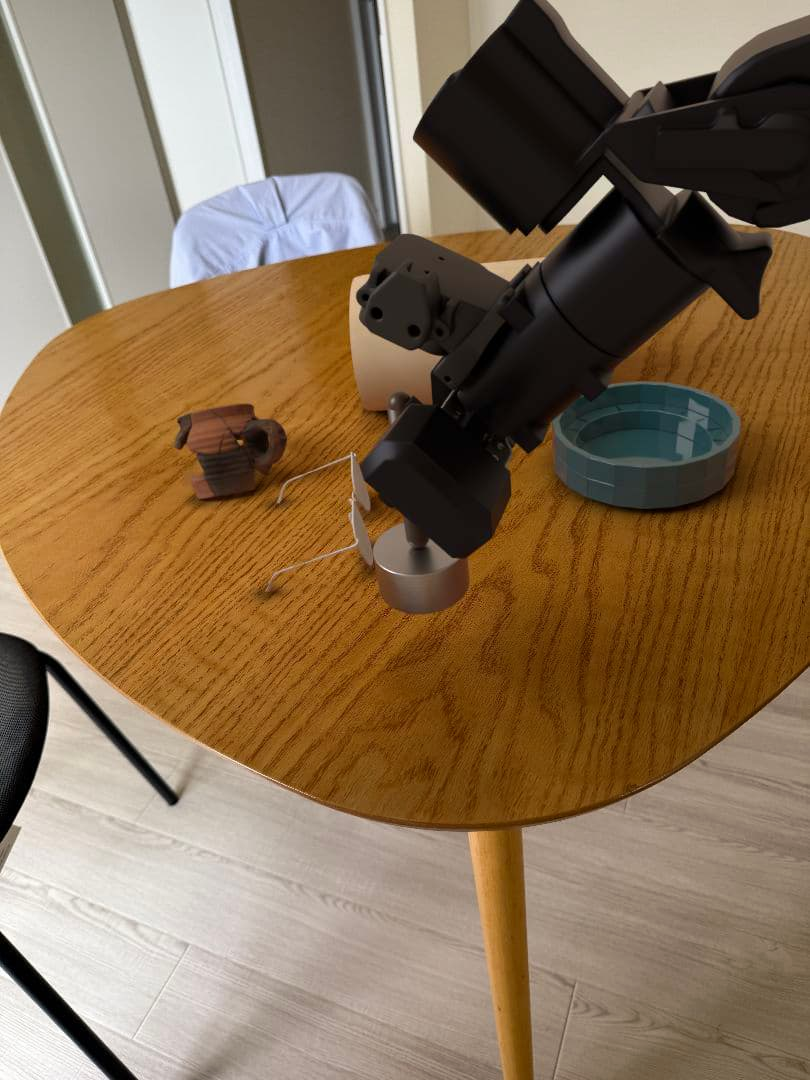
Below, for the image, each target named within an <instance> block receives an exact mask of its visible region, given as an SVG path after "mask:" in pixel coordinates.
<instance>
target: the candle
mask: <svg viewBox="0 0 810 1080" xmlns="http://www.w3.org/2000/svg"><path fill="white" fill-rule="evenodd" d="M546 257H547V256H545V257H534V258H533V257H532V258H524V259H512V260H503V261H492V262H491V261H490V262H482V263H480V262H479V264H481V265H483V266H484V267H485V268H486V269H487V270H489V271H490V272H493V273H494V274H496V275H498V276H500V277H502V278H504V279H505V280H507V281H509V282H510V281H511V280H512V279H513V278H514V277H515V276H516V274H517V273H518V272H519V271H520V270H521V269H522V268H523V267H524V266H525V265H526V264H527V263H528V264H529V265H530V266H531V267H533V266H534V265H535V264H536V262H537V261H539V262H540V263H541V262H542V261H543V260H544V259H545V258H546ZM369 276H370V273H368V274H362V275H358V276H356V277H354V278H353V279H352V282H351V286H350V293H349V308H348V309H349V311H348V312H349V314H348V317H349V318H348V319H349V321H348V322H349V339H350V349H351V350H350V351H351V359H352V364H353V366H352V367H353V372H354V377H355V382H356V387H357V389H358V390H357V391H358V394H359V398H360V401H361V404H362V406H363V407H364V409H365V410H367V411H373V412H381V411H387V400H388V398H389V396H390V395H391V394H392V393H394V392H396V391H404V392H406V393H408V394H409V395H410V396H411V397H412V396H413V395H414V396H415V397H416V398H417V399H418V400H419V401H420V402H422V403H423V404H429V405H432V390H431V376H430V374H431V371H432V370H433V368H434V367H435V366H436V364H437V363H438V362H439V360H440V359H441V358H442V356H436V355H432V354H429V353H427V352H425V351H422V350H420V349H416V350H413V351H409V350H406V349H404V348H402V347H400V346H398V345H396V344H394V343H392V342H390V341H387V340H385V339H383V338H381V337H379V336H377V335H375V334H373V333H371V332H370V331H369V330H368V329H367V328H366V327H365V326H364V325H363V324H362V323H361V322H360V320H359V313H360V310H361V306H360V305H359V304H358V302H357V300H356V292H357V291H358V289H359V288H361V287H362V286H363V285H364V284H365V283H366V282H367V280H368V279H369Z"/></svg>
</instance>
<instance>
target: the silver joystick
mask: <svg viewBox="0 0 810 1080" xmlns="http://www.w3.org/2000/svg"><path fill="white" fill-rule="evenodd" d="M410 399H411V396H410V395H409V394H408V393H406V392H404V391H396V392H394V393H392V394H391V395H390V396H389V398H388V400H387V410H386V411H387V416H388V425H389V426H390V425H391V424H392V423H393V422H394V421H395V420H396V418H397V416H398V415H399V413H400V412H401V411H402V409H403V408H404V407H405V405H406V404H407V403H408V401H409V400H410ZM402 520H403V522H401V523H398V524H396V525H394V526H392V527H390V528H388V529H387V530H385V531H384V532H383V533H382V534H381V535H379V537H378V538H377V539H376V541H375V542H374V545H373V548H372V553H373V563H374V569H375V574H376V579H377V585H378V590H379V595H380V597H381V599H382V600H383V602H384V603H385V604H386V605H387V606H388V607H390V608H391V609H394V610H395V611H397V612H400V613H404V614H409V615H430V614H436V613H439V612H442V611H445V610H447V609H449V608H451V607H453V606H455V605H456V604H458V603H459V602H460V601H461V600H463V598H464V597H465V596H466V594H467V593H468V590H469V588H470V582H471V581H470V569H469V568H470V567H469V556H468V557H467V558H466V559H459V558H451V557H450V556H449V555H448V554H447V553H446V552H445V551H443V550H442V549H441V548H440V547H439V546H438V545H437V544H435V543H434V542H433V541H432V540H431V539H430V538H429V537H427V536H426V535H425V534H424V533H423V532H422V531H421V530H420V529H418V528H417V527H416V526H415V525H414V524H413V523H412V522H410V521H409V520H408V519H407V518H406V517H405V516H404V515H402Z"/></svg>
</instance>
